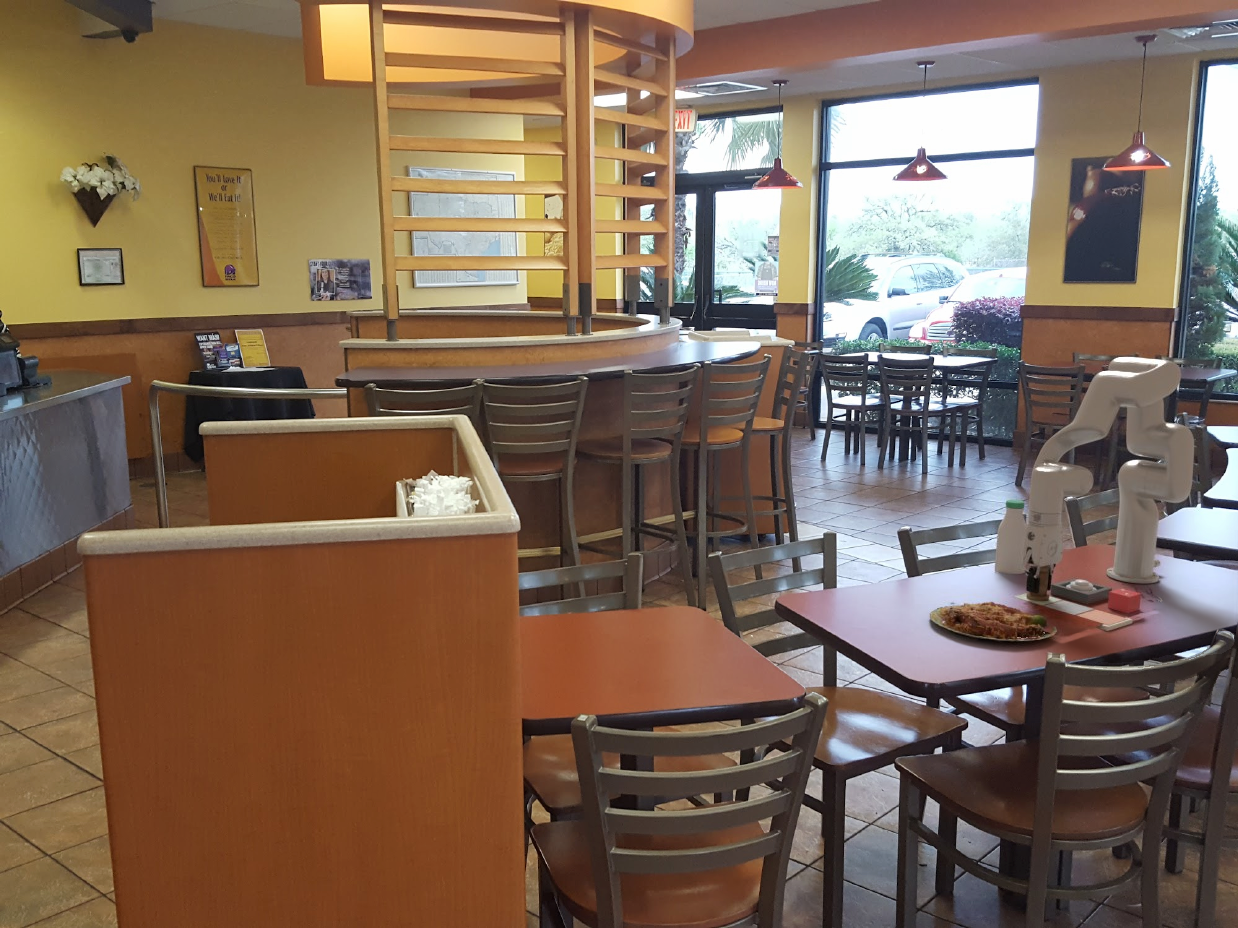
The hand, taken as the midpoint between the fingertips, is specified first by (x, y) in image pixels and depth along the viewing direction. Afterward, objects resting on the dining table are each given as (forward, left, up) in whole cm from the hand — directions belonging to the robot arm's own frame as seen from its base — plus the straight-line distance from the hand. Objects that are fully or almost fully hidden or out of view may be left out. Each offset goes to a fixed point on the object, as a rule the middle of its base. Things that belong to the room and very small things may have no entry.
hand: (1038, 589), depth 260 cm
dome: (-11, +5, -1) cm, 12 cm away
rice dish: (+25, +5, -4) cm, 26 cm away
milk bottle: (-16, -19, -3) cm, 25 cm away
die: (-11, +16, -3) cm, 19 cm away
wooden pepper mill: (0, 0, -2) cm, 2 cm away
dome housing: (-11, +5, -3) cm, 12 cm away
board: (0, +9, -3) cm, 9 cm away
